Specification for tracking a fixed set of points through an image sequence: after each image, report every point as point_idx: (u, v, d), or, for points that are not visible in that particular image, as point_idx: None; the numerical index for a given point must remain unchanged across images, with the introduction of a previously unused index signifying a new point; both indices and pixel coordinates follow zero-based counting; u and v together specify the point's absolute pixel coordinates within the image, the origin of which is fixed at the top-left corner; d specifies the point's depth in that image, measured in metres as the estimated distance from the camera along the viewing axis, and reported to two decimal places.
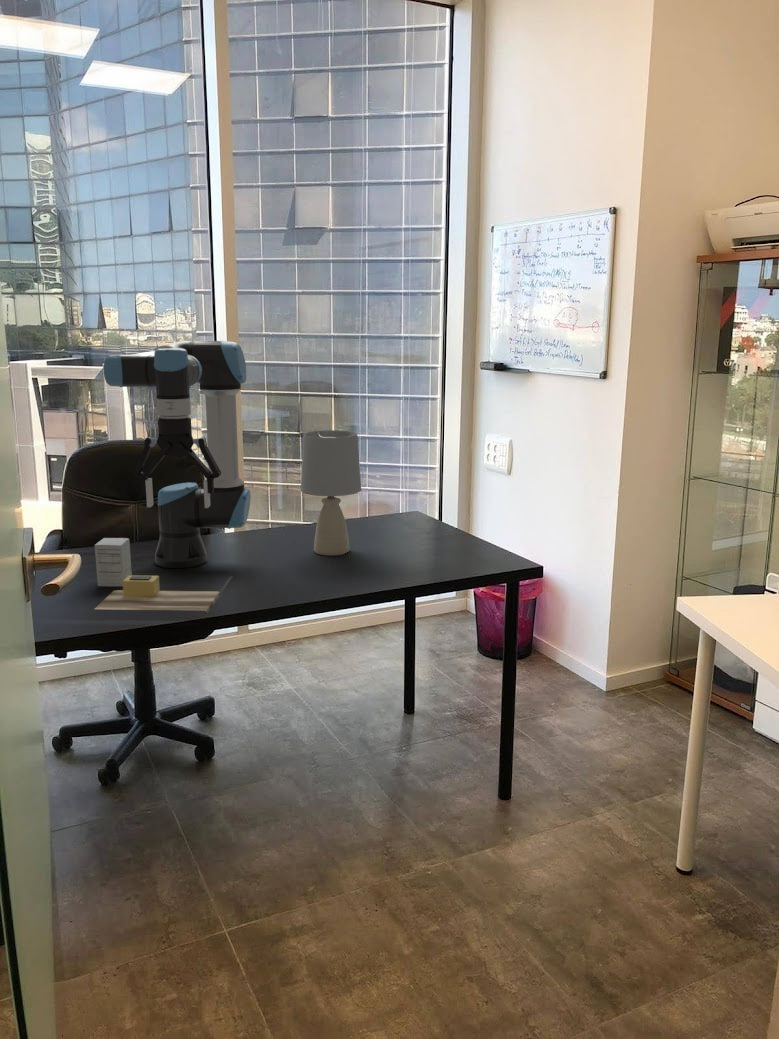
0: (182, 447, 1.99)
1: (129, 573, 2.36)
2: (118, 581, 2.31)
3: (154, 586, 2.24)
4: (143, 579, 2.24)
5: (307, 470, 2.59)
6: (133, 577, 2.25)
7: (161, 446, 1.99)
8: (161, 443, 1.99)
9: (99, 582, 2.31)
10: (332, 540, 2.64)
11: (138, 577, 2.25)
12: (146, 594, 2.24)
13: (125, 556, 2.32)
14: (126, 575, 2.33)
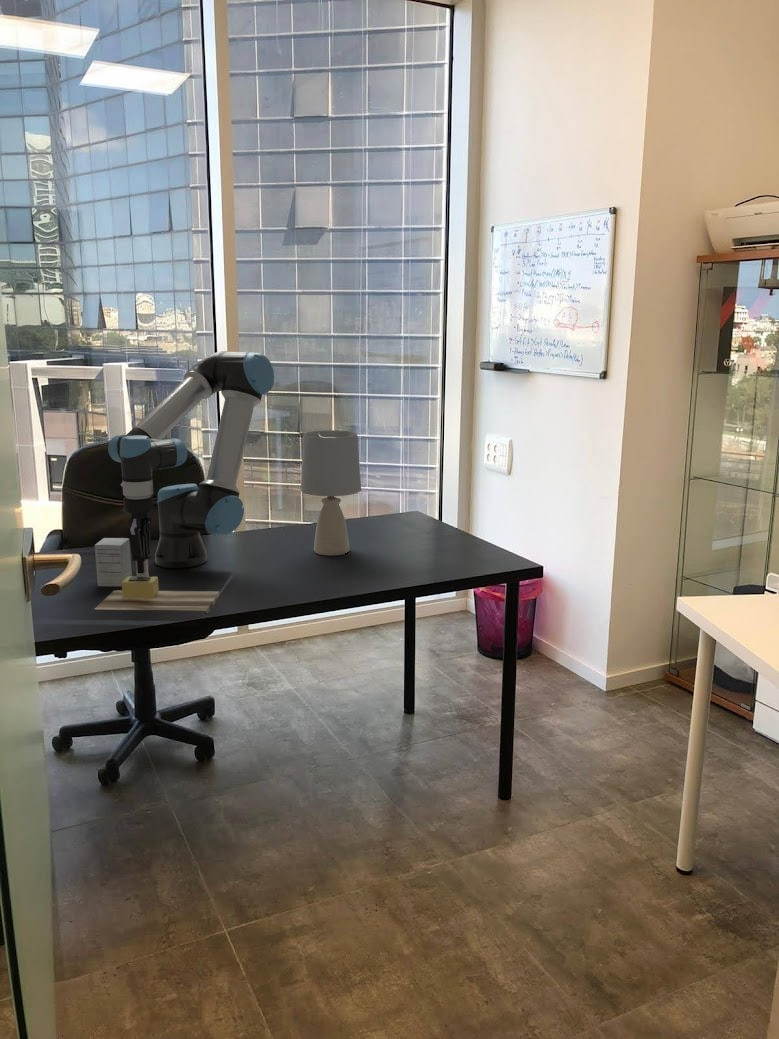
0: None
1: (129, 573, 2.36)
2: (118, 581, 2.31)
3: (153, 587, 2.23)
4: (142, 580, 2.23)
5: (307, 470, 2.59)
6: (132, 578, 2.24)
7: None
8: None
9: (99, 582, 2.31)
10: (332, 540, 2.64)
11: (137, 578, 2.24)
12: (145, 595, 2.23)
13: (125, 556, 2.32)
14: (126, 575, 2.33)
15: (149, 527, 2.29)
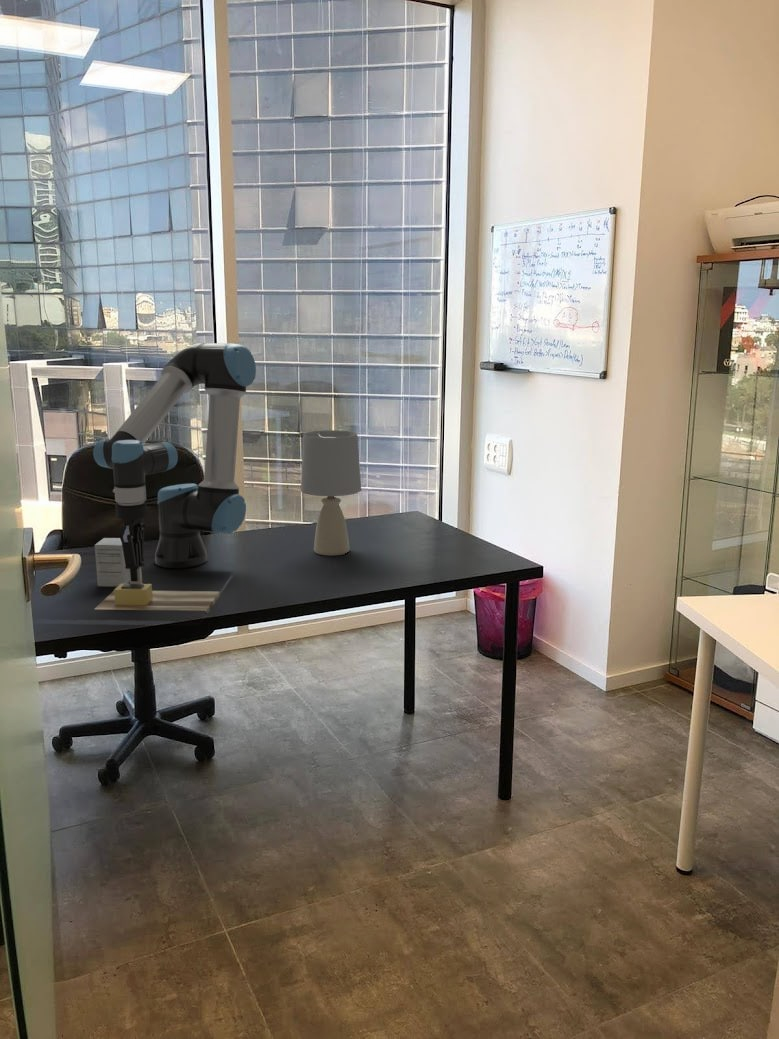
0: None
1: None
2: (118, 581, 2.31)
3: (147, 595, 2.17)
4: (135, 588, 2.17)
5: (307, 470, 2.59)
6: (125, 585, 2.18)
7: None
8: None
9: (99, 582, 2.31)
10: (332, 540, 2.64)
11: (131, 585, 2.18)
12: (138, 603, 2.17)
13: None
14: (126, 575, 2.33)
15: (142, 534, 2.23)
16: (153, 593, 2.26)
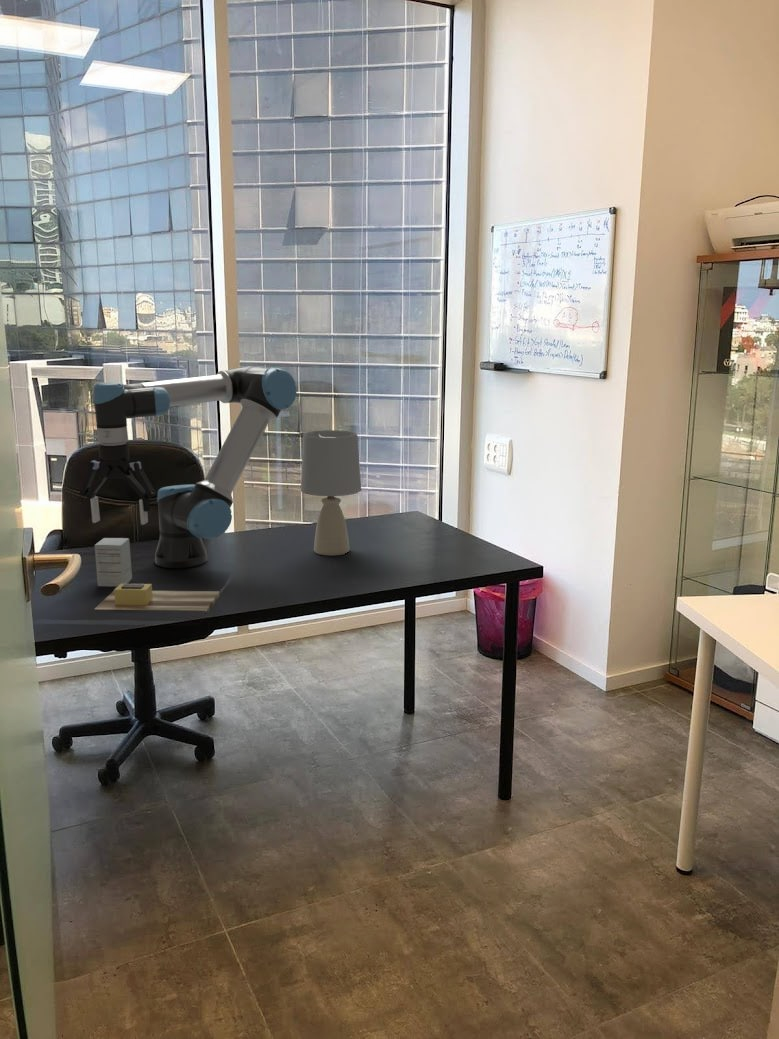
0: (119, 470, 2.23)
1: (129, 573, 2.36)
2: (118, 581, 2.31)
3: (147, 595, 2.17)
4: (135, 588, 2.17)
5: (307, 470, 2.59)
6: (125, 585, 2.18)
7: (102, 469, 2.25)
8: (102, 466, 2.24)
9: (99, 582, 2.31)
10: (332, 540, 2.64)
11: (131, 585, 2.18)
12: (138, 603, 2.17)
13: (125, 556, 2.32)
14: (126, 575, 2.33)
15: (95, 471, 2.27)
16: (153, 593, 2.26)
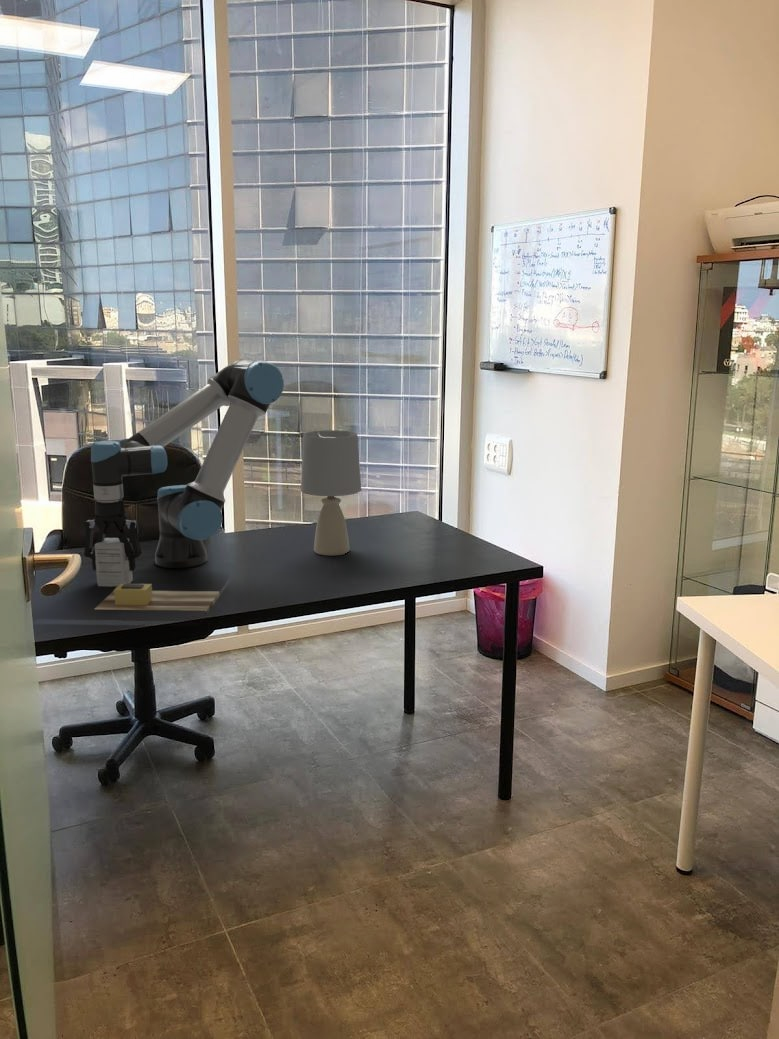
0: (116, 526, 2.29)
1: None
2: (118, 581, 2.31)
3: (147, 595, 2.17)
4: (135, 588, 2.17)
5: (307, 470, 2.59)
6: (125, 585, 2.18)
7: (98, 525, 2.30)
8: (98, 522, 2.30)
9: (99, 582, 2.31)
10: (332, 540, 2.64)
11: (131, 585, 2.18)
12: (138, 603, 2.17)
13: (125, 556, 2.32)
14: None
15: (92, 529, 2.33)
16: (153, 593, 2.26)
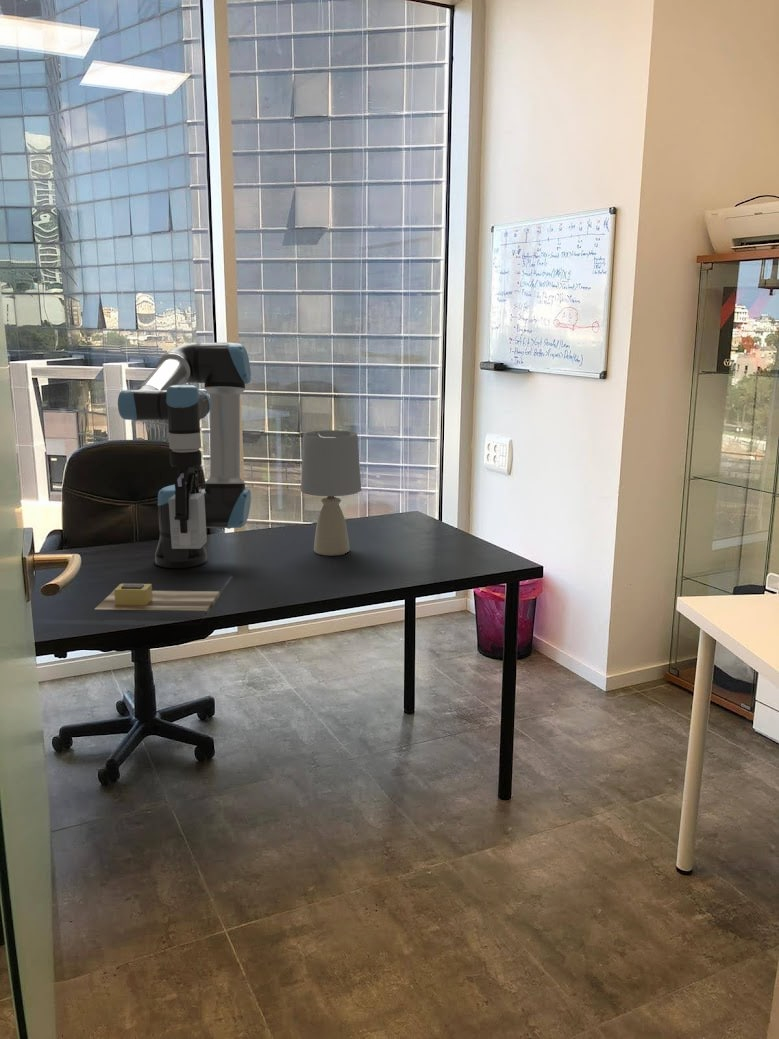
0: None
1: None
2: None
3: (147, 595, 2.17)
4: (135, 588, 2.17)
5: (307, 470, 2.59)
6: (125, 585, 2.18)
7: None
8: None
9: None
10: (332, 540, 2.64)
11: (131, 585, 2.18)
12: (138, 603, 2.17)
13: None
14: None
15: (197, 480, 2.16)
16: (153, 593, 2.26)
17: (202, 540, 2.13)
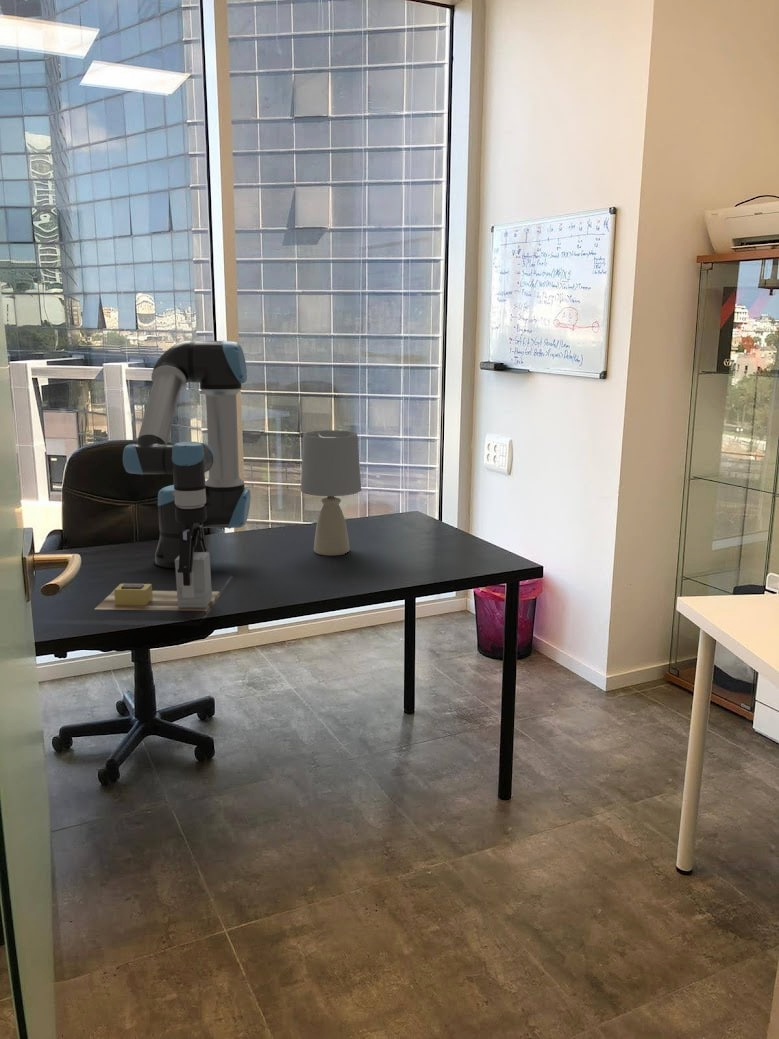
0: None
1: (196, 596, 2.14)
2: None
3: (147, 595, 2.17)
4: (135, 588, 2.17)
5: (307, 470, 2.59)
6: (125, 585, 2.18)
7: None
8: None
9: None
10: (332, 540, 2.64)
11: (131, 585, 2.18)
12: (138, 603, 2.17)
13: None
14: None
15: (202, 530, 2.20)
16: (153, 593, 2.26)
17: (208, 599, 2.17)
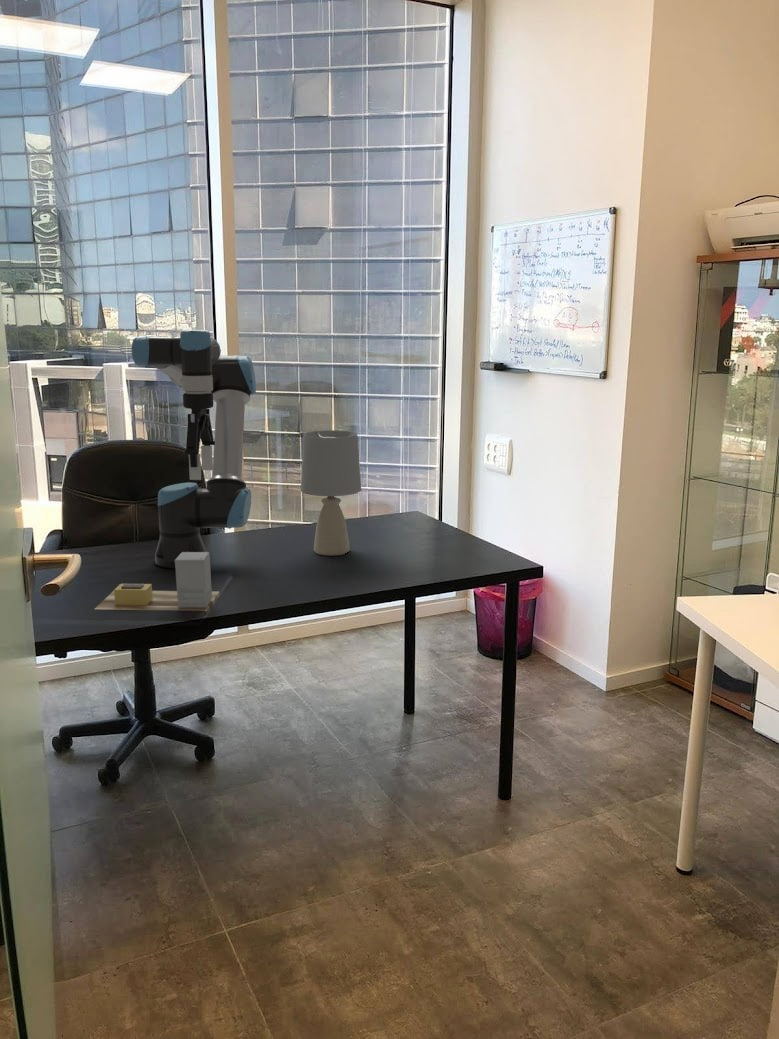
0: None
1: (196, 596, 2.14)
2: None
3: (147, 595, 2.17)
4: (135, 588, 2.17)
5: (307, 470, 2.59)
6: (125, 585, 2.18)
7: None
8: None
9: None
10: (332, 540, 2.64)
11: (131, 585, 2.18)
12: (138, 603, 2.17)
13: (185, 574, 2.13)
14: (186, 595, 2.14)
15: (209, 419, 2.26)
16: (153, 593, 2.26)
17: (208, 599, 2.17)
